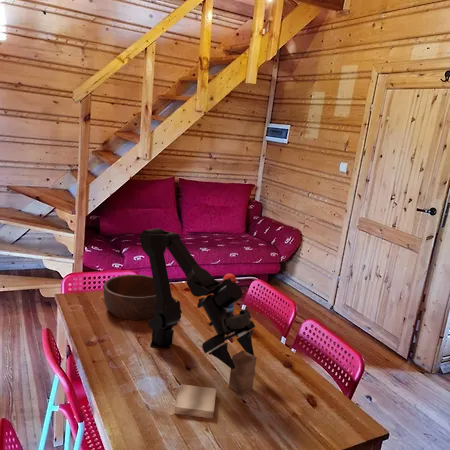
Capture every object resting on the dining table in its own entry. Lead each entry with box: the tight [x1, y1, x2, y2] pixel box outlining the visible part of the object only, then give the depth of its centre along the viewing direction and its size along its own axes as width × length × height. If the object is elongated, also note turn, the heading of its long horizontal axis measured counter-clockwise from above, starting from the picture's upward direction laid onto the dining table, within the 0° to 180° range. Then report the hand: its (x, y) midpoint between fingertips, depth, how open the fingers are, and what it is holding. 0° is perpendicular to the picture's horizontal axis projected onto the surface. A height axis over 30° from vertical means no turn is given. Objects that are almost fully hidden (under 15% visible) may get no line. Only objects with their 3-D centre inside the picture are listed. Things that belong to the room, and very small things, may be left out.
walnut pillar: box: [228, 349, 257, 396], centre depth 123 cm, size 5×5×10 cm
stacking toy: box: [222, 273, 237, 315], centre depth 166 cm, size 8×8×19 cm
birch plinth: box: [173, 384, 217, 419], centre depth 114 cm, size 10×10×2 cm
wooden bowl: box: [102, 274, 157, 321], centre depth 167 cm, size 25×25×10 cm
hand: (243, 362), depth 122 cm, fingers open, 9 cm apart
